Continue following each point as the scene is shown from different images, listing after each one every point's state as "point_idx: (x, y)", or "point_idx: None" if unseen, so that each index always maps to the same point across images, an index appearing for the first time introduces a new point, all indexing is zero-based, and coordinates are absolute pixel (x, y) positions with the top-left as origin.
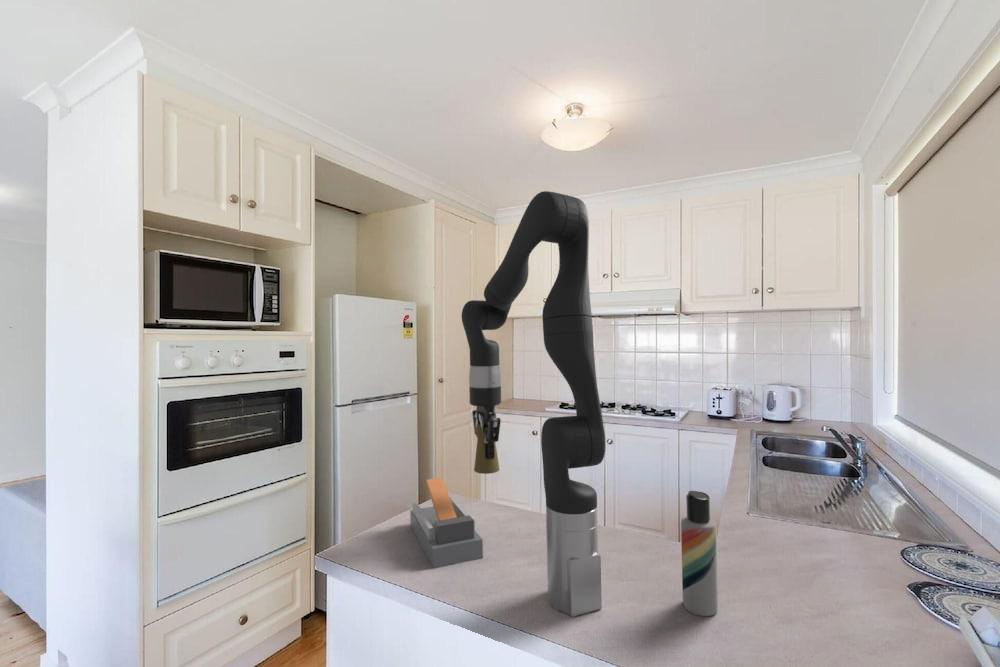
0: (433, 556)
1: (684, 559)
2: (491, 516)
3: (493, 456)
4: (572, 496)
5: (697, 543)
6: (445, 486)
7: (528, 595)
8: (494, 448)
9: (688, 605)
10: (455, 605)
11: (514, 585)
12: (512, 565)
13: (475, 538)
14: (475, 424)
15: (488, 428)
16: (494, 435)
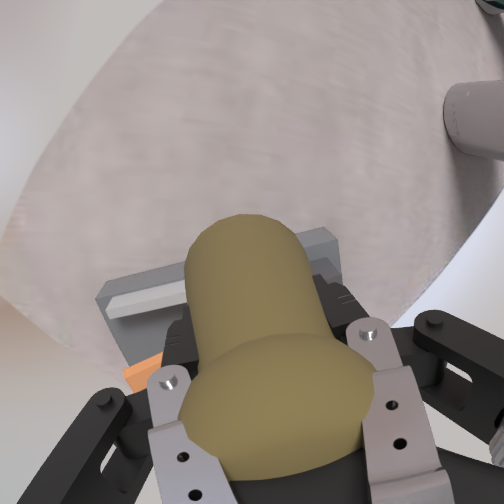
0: None
1: None
2: (99, 185)
3: (337, 284)
4: None
5: None
6: (161, 361)
7: (448, 175)
8: (313, 294)
9: (494, 13)
10: (435, 278)
11: (423, 188)
12: (366, 174)
13: (328, 254)
14: (133, 499)
15: (485, 430)
16: (398, 357)
